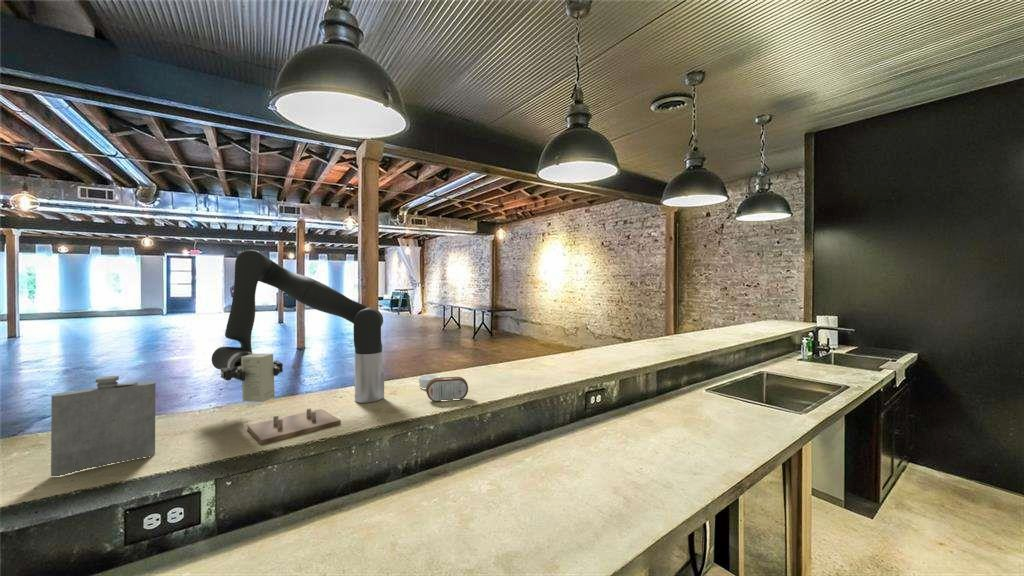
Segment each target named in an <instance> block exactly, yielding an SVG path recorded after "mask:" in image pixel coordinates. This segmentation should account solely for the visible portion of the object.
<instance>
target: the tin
mask: <svg viewBox="0 0 1024 576" xmlns="http://www.w3.org/2000/svg"><path fill="white" fill-rule="evenodd" d="M425 392H426V396H427V397H428V398H429V400H430V401H432V402H434V401H441V400H453V399H461V400H463V399H465V397H466V396H467V395H468V393H469V385H468V382H467V381H466V379H465V378H463V377H462V376H444V377H443V376H442V377H441V376H440V378H434V379H432V380H431V381H430V382H429V383H428V384H427V387H426V390H425Z"/></svg>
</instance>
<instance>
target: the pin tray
mask: <svg viewBox="0 0 1024 576" xmlns="http://www.w3.org/2000/svg"><path fill="white" fill-rule="evenodd" d="M341 422H342V421H341V419H340V418H338V417H336V416H335V415H333V414H332V413H330V412H328V411H327V410H324V409H323V408H320V409H319V408H318V409H315V410H312V408H306V411H305V412H301V413H296V414H292V415H287V416H283V417H279V415H278V414H277V415H274V416H273V419H270V420H266V421H262V422H261V421H260V422H258V423H252V424H248V425H247V431H248V432H249V433H250V435H252V436H253V437H254V438H255V439H256V440H257V442H258V443H259V444H260V445H261V446H262V445H266V444H269V443H274V442H277V441H282V440H285V439H289V438H292V437H296V436H300V435H304V434H308V433H311V432H316V431H319V430H323V429H327V428H331V427H334V426H335V427H336V426H338V425H341V424H342V423H341Z"/></svg>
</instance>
